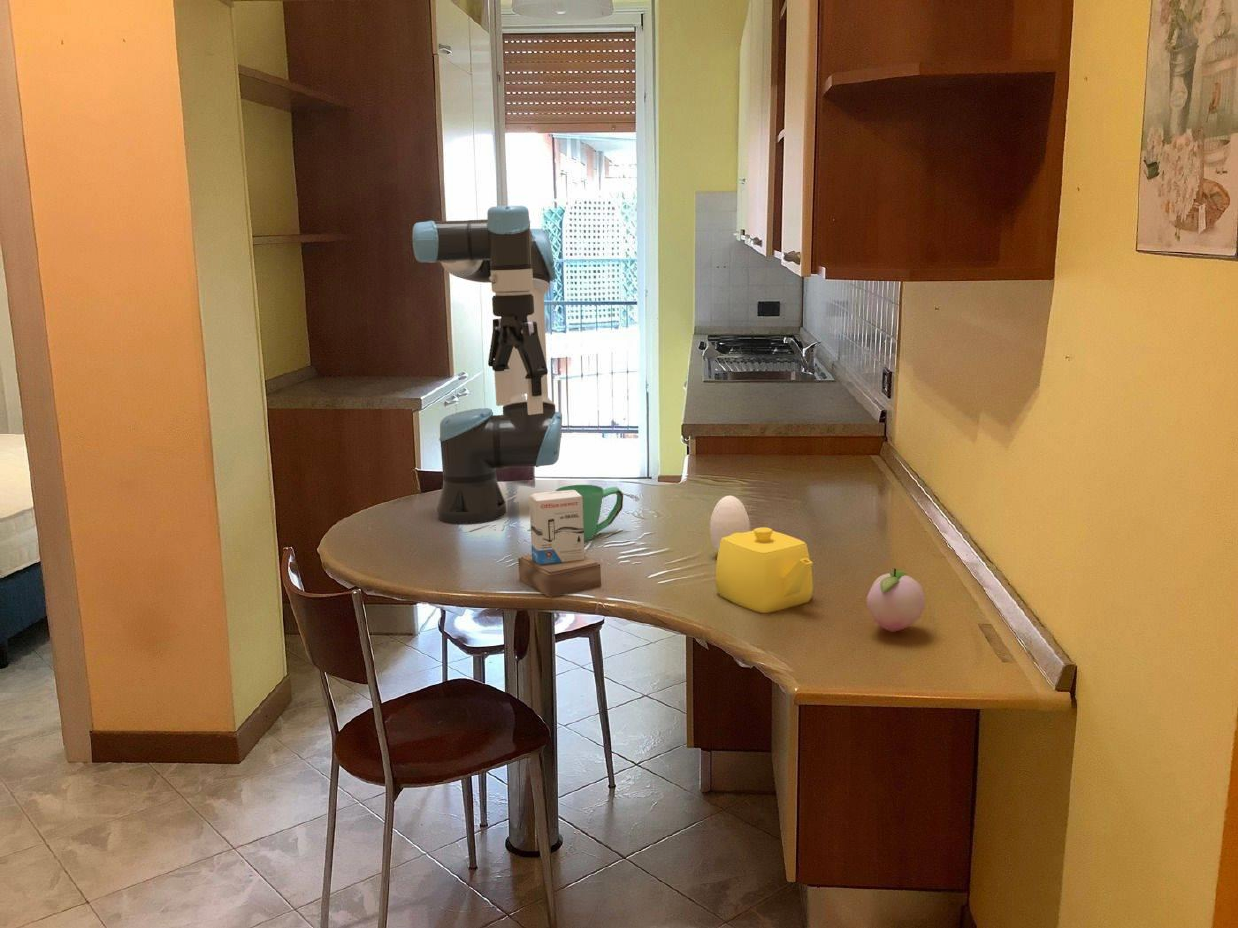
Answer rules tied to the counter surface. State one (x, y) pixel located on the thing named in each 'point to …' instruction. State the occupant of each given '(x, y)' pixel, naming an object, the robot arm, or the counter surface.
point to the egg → (728, 519)
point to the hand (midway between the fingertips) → (519, 409)
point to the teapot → (764, 570)
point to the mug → (595, 506)
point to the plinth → (560, 575)
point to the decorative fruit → (896, 600)
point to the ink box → (556, 527)
